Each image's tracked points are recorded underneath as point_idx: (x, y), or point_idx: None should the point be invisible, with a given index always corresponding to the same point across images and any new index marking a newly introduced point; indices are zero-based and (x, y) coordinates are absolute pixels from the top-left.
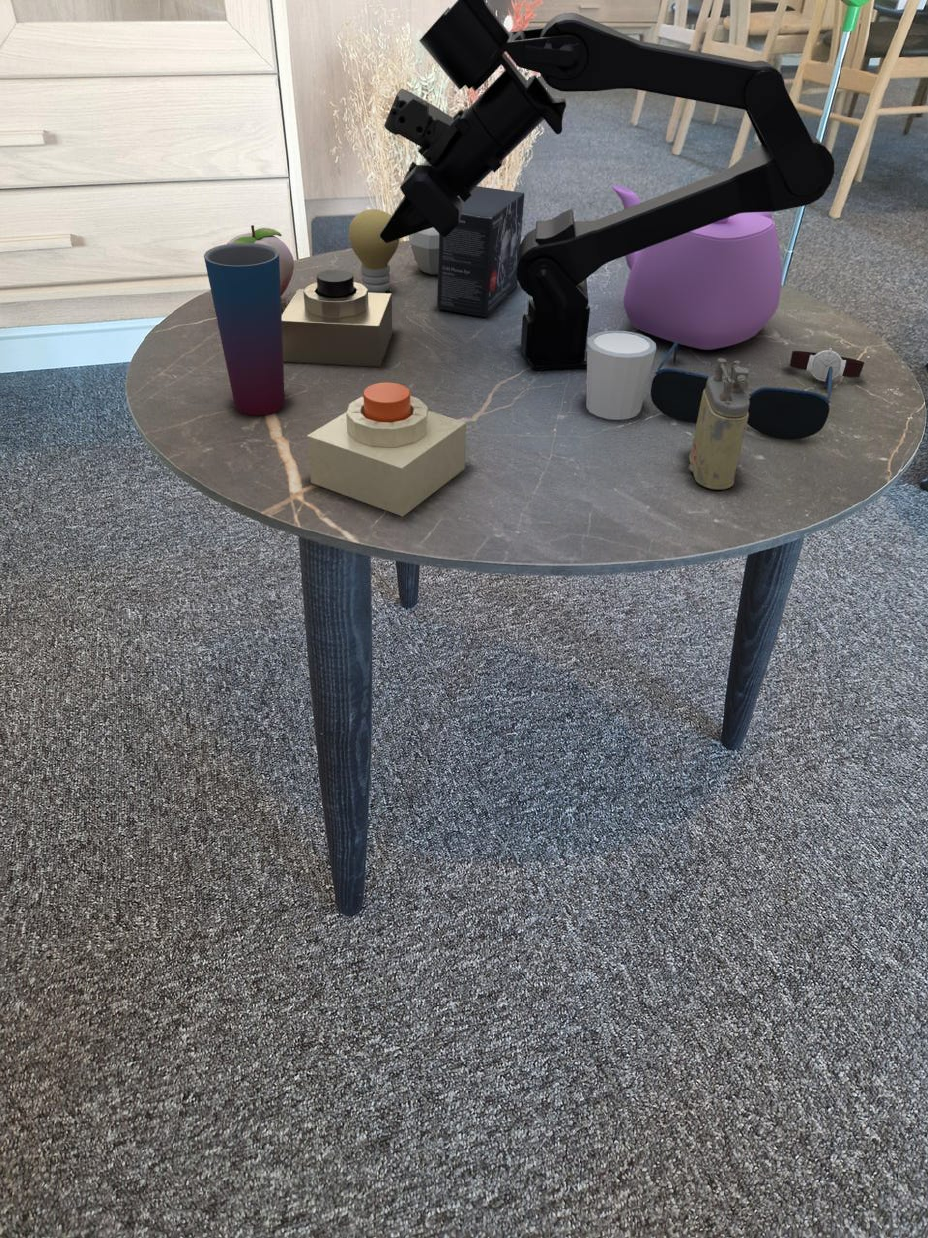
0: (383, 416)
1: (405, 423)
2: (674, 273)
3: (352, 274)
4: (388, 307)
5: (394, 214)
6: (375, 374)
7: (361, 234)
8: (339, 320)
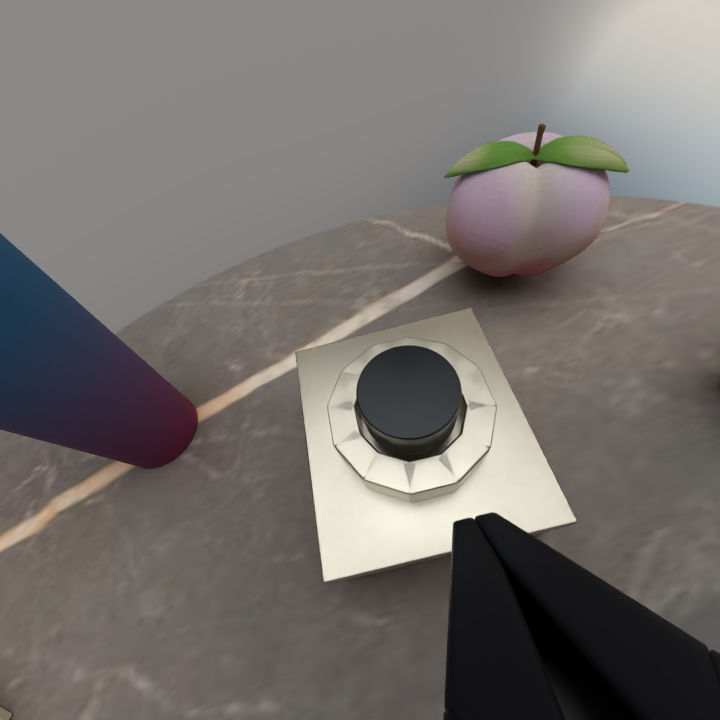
0: None
1: None
2: None
3: (437, 429)
4: None
5: (445, 688)
6: (308, 582)
7: None
8: (327, 464)
